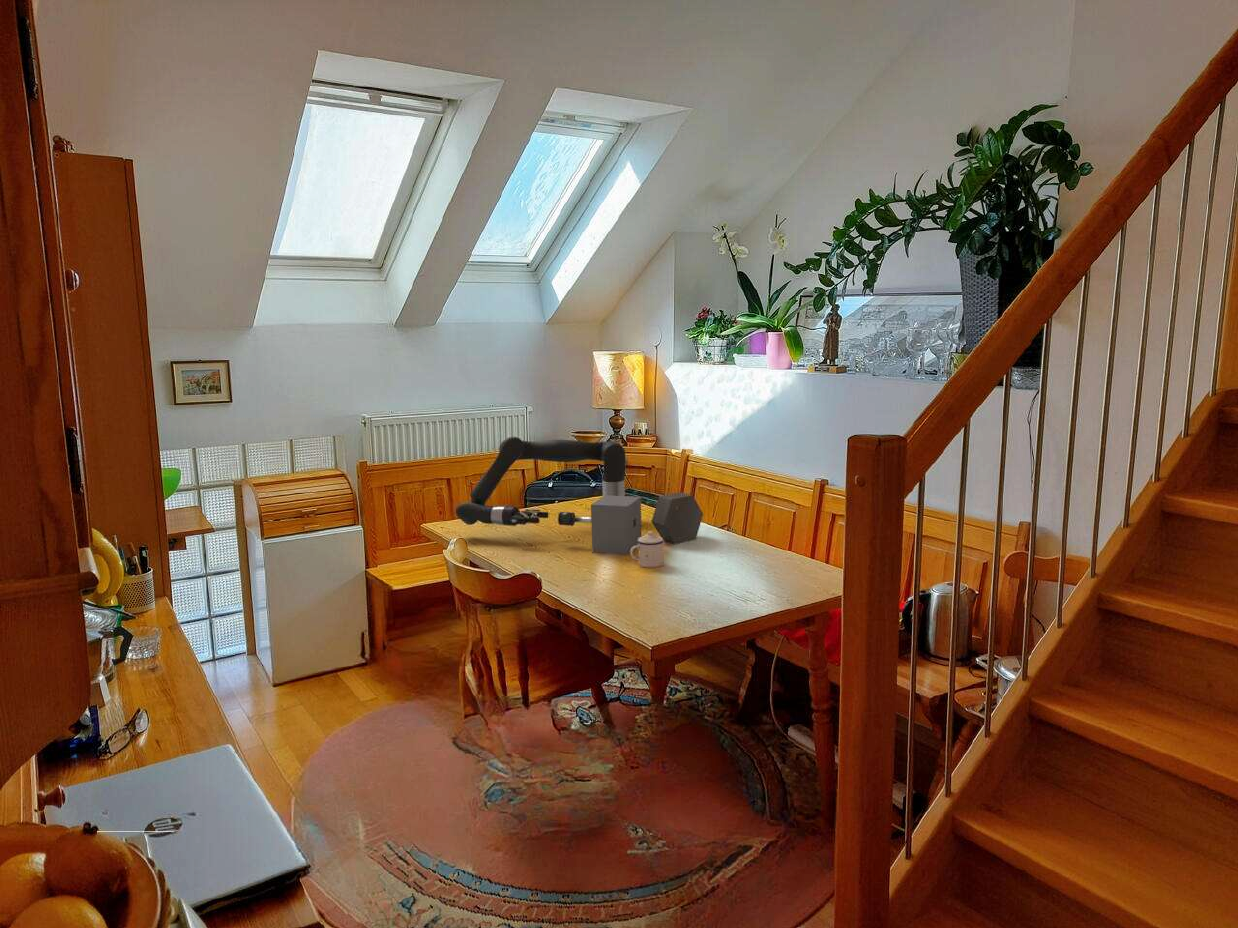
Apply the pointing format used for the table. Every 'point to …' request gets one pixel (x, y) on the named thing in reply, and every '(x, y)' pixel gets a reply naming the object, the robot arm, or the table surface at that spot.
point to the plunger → (571, 519)
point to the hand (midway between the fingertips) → (543, 517)
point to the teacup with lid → (649, 550)
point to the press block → (615, 524)
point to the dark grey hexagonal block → (677, 517)
